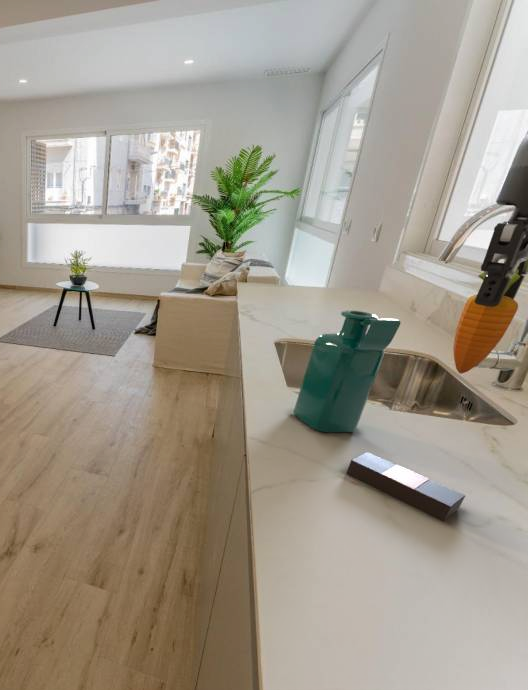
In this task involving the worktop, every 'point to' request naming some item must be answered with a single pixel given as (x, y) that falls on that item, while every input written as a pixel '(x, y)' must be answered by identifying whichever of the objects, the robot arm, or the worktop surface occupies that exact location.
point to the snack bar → (406, 485)
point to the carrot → (481, 329)
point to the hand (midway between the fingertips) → (493, 302)
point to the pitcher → (343, 372)
